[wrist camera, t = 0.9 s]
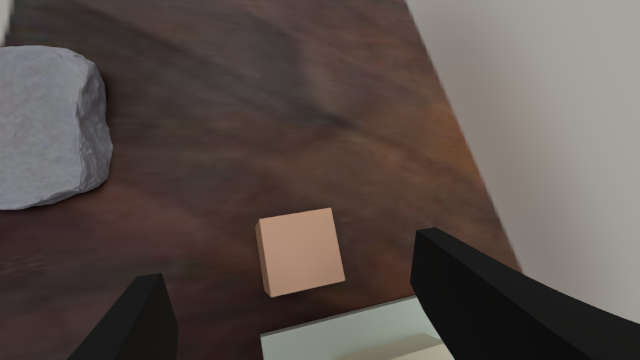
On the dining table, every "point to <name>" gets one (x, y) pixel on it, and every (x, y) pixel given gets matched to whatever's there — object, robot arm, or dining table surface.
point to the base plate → (361, 336)
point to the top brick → (298, 252)
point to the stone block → (50, 126)
